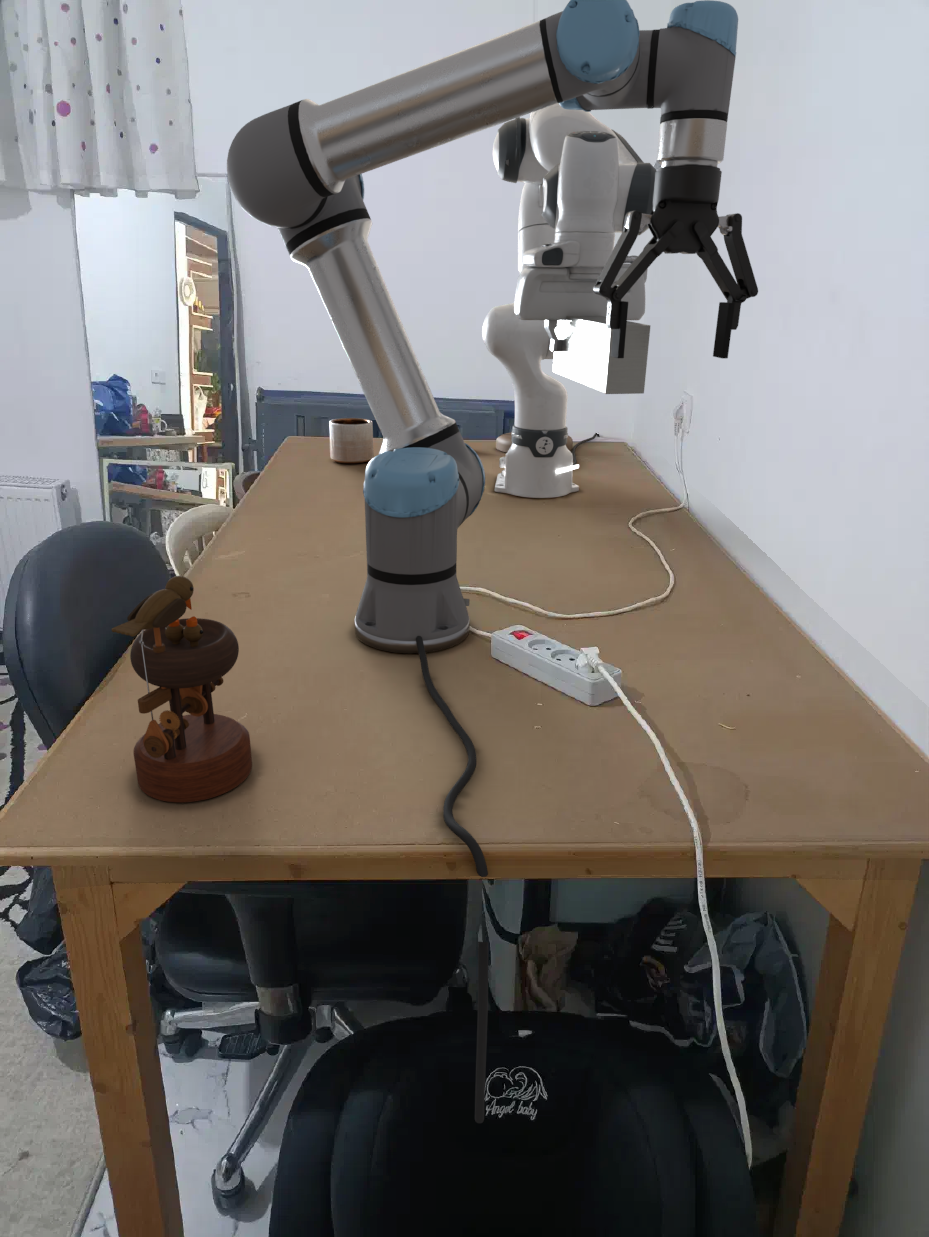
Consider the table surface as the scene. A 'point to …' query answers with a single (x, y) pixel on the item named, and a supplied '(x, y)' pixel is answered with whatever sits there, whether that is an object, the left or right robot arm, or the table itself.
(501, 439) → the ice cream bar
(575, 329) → the bar
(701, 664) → the table surface
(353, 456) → the planter
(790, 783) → the table surface
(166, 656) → the music box
